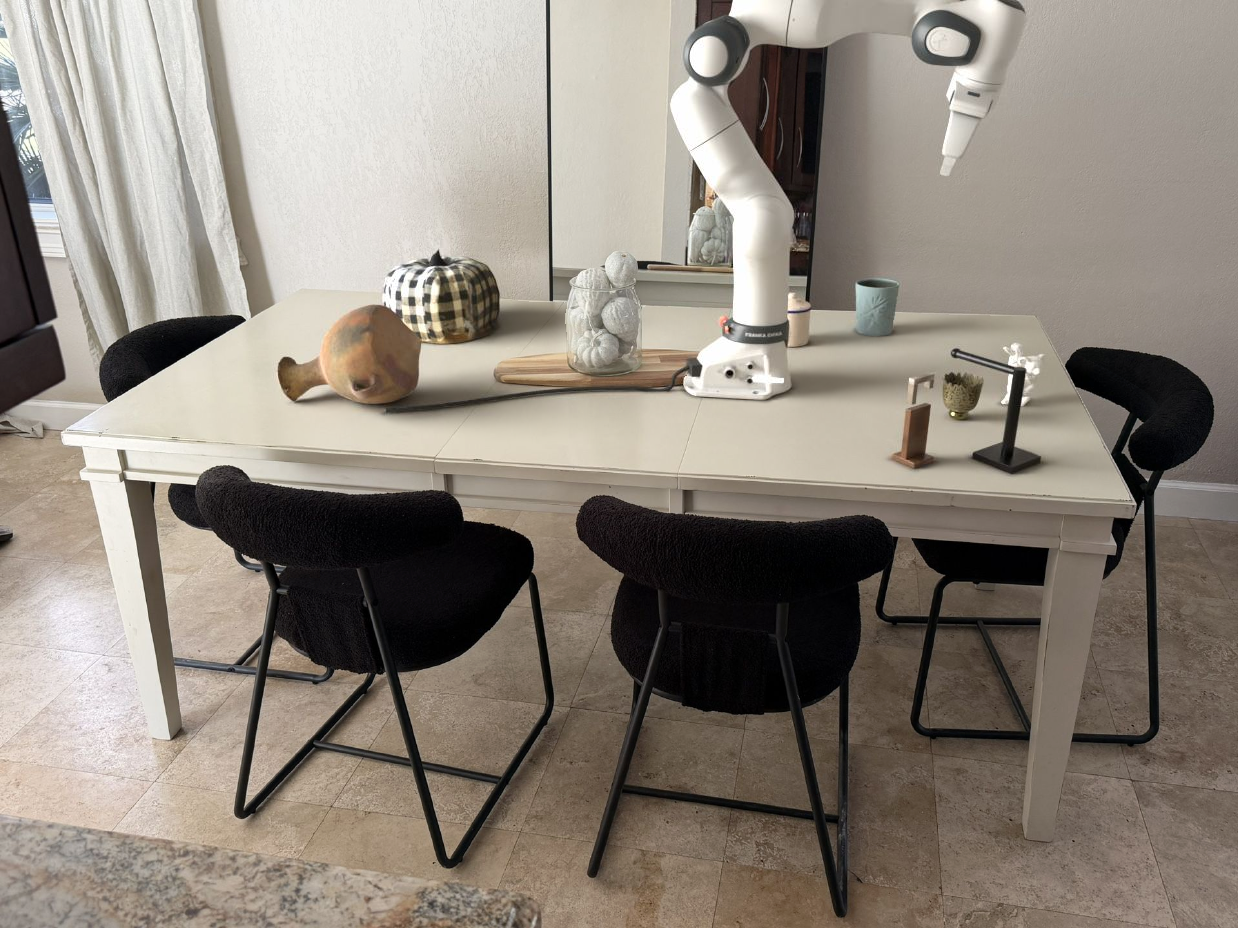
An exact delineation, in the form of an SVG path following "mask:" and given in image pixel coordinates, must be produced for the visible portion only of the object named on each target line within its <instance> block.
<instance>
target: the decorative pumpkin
mask: <svg viewBox="0 0 1238 928" xmlns="http://www.w3.org/2000/svg"><path fill="white" fill-rule="evenodd" d="M500 298H501V293H500V290H499V286H498V283H497V280H496V277H495V275H494V273H493V271H492V270H491V269H490V267H489V266H488V265H487V264H485V263H483V262H481V261H478V260H476V259H474V258H471V257H468V256H457V257H456V256H455V257H451V256H446V255H441V252H440V248H438V249H437V250H436V251H435V253H433V254H432V255H431V257H427V258H417V259H412V260H410V261H407V262H406V263H402V264H400V265H396V266H394V267H393V268H392V269H391V270H390V271H389V272H388V274H387V276H386V277H385V280H384V284H383V286H382V299H381V303H382V306H386V307H388V308H390V309H391V310H392V311H394V312H395V313H396V314H397V315H398V316H399V318H400V319H401V320H402V322H403V323H404V324H405V325H407V326H408V327H409V328H410V329H411V330H412V331H413V332H415V333H416V334H417V335H418V336H419V338H420V340H421V343H427V344H428V343H429V344H443V345H447V344H459V343H465V342H468V341H472V340H477V339H480V338H483V337H486V336H488V335H491V333H493V332H494V331H495V330H496V329H497V321H498V318H499V315H500V311H501V304H500V303H501V301H500V300H501V299H500Z"/></svg>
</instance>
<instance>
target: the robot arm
mask: <svg viewBox="0 0 1238 928" xmlns="http://www.w3.org/2000/svg"><path fill="white" fill-rule="evenodd" d="M1026 20H1027V14H1026V10H1025V7H1024V6H1023V4H1022V3H1021V2H1020V1H1019V0H732V3H731V8H730V12H729V14H724V15H722V16H719V17H717V18H715V19H712V20H709V21H706V22H705V23H703V24H702V25H699V26H698V27H696V28H695V29H694V30H693V31H692V32H691V33H690V34H689V36H688V37H687V39H686V41H685V44H684V46H683V51H682V61H683V65H684V68H685V70H686V72H687V74H688V75H689V78H688V79H687V81H685V82H684V83H682V84H681V85H680V86H679V87H677V89H676V90H675V92H674V93H673V95H672V97H671V100H670V110H671V114H672V116H673V120H674V123H675V125H676V127H677V129H678V132H679V134H680V136H681V138H682V140H683V142H684V144H685V146H686V148H687V150H688V152H689V154H690V155H691V157H692V159H693V161H694V162H695V164H696V165H697V167H698V169H699V171H700V172H701V174H702V176H703V178H704V180H705V181H706V183H707V185H708V186H709V188H710V189H711V190H712V191H713V192H714V193H715V194H716V196H717V197H718V198H719V199H720V201H721V202H722V203H723V205H724V206H725V207H726V209H727V210H728V212H729V213H730V214H731V216H732V217H733V219H734V220H733V223H732V264H733V265H732V268H733V298H732V299H733V302H732V317H730V318H728V317H727V316H726V315H722V316H720V317H719V318H718V319H719V320H718V323H719V326H720V327H721V328H722V329H721V330H722V332H721V333H722V335H721V336H720V337H719V338H717V339H715V341H713V342H712V343H710V344H708V345H707V346H706V347H704V348H703V349H701V350H700V351H699V353H698V354H697V356H696V357H690V358H686V360H685V362H686V363H685V366H683V367H681V368H680V369H678V370H676V371H675V372H674V373H673V374H672V376H671V379H670V384H669V385H668V386H666V387H663V388H653V387H647V386H641V385H595V386H591V385H590V386H574V387H573V386H572V387H560V388H559V387H558V388H549V389H539V390H531V391H521V392H514V393H506V394H500V395H491V396H486V397H479V398H471V399H464V400H455V401H450V402H441V403H431V404H423V405H412V406H411V405H410V406H396V407H385V413H395V412H397V413H398V412H413V411H423V410H433V409H441V408H450V407H456V406H463V405H464V406H466V405H472V404H479V403H485V402H486V403H487V402H492V401H493V402H494V401H500V400H507V399H514V398H521V397H529V396H537V395H539V396H540V395H548V394H559V393H572V392H587V391H588V392H589V391H590V392H592V391H643V392H652V393H653V392H656V393H657V392H669V391H671V390H672V389H673V388H674V386H675V384H676V379H677V378H678V376H680V375H681V374H683V373H684V372H687V373H689V374H687V373H685V375H687V376H685V375H684V376H685V377H683V382H682V383H683V388H684V390H685V391H686V392H687V393H688V394H689V395H692V396H694V397H705V398H722V399H723V398H724V399H739V400H740V399H741V400H742V399H743V400H760V401H761V400H762V401H765V400H768V399H770V398H771V397H773V396H775V395H779V394H782V393H786V392H787V391H789V390H790V389H791V388H792V386H793V384H792V381H791V376H790V370H789V363H788V347H787V346H788V342H789V328H790V325H789V320H788V318H787V314H788V297H789V293H790V259H791V258H790V256H791V254H790V253H791V236H792V230H793V227H794V223H795V211H794V208H793V205H792V203H791V202H790V200H789V198H788V196H787V195H786V193H785V192H784V190H783V188H782V186H781V185H780V184H779V182H778V180H777V179H776V178H775V176H774V174H773V173H772V172H771V170H770V168H769V167H768V166H767V164H766V163H765V162H764V160H763V159H762V157H761V156H760V154H759V153H758V150H757V149H756V147H755V145H754V143H753V142H752V140H751V138H750V136H749V135H748V133H747V131H746V129H745V128H744V126H743V124H742V122H741V120H740V118H739V117H738V115H737V113H736V112H735V110H734V108H733V106H732V104H731V102H730V99H729V95H728V89H729V88H730V87H731V86H732V85H733V84H734V82H735V81H736V80H737V79H738V78H739V76H740V75H741V74H742V73H743V72H744V70H745V69H746V68H747V66H748V64H749V63H750V60H751V57H752V49H753V48H755V47H756V46H759V45H774V46H775V45H776V46H782V47H789V48H796V49H819V48H825V47H828V46H830V45H833V44H834V43H836V42H838V41H840V40H841V39H844V38H846V37H848V36H851V35H855V34H862V33H869V34H880V35H888V36H889V35H891V36H901V37H908V38H910V39H911V47H912V50H913V52H914V54H915V56H916V57H917V58H918V59H919V60H920V61H921V62H922V63H925V64H927V65H931V66H940V67H955V68H954V72H953V74H952V77H951V80H950V83H949V86H948V87H947V92H946V94H945V96H946V98H947V100H948V103H949V110H950V113H949V119H948V124H947V128H946V131H945V136H944V141H943V145H942V151H941V154H942V156H944V158H943V161H942V165H941V168H940V171H939V174H940V175H941V176H944V177H950V175H951V173H952V170H953V167H954V165H955V164H956V161H957V160H962V159H963V157H964V156H965V154H966V152H967V150H968V148H969V146H970V144H971V142H972V140H973V137H974V136H975V134H976V132H977V130H978V127H979V126H980V124H981V122H982V120H983V119H986V117H987V116H988V114H989V113H990V112H991V111H992V110H994V109H995V108H996V105H997V104H998V100H999V98H1000V95H1001V93H1002V90H1003V88H1004V85H1005V83H1006V79H1007V70H1008V68H1009V66H1010V63H1011V62H1012V61H1013V59H1014V58H1015V56H1016V54H1017V50H1018V48H1019V45H1020V42H1021V39H1022V36H1023V32H1024V30H1025V26H1026Z"/></svg>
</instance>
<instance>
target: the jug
mask: <svg viewBox="0 0 1238 928" xmlns="http://www.w3.org/2000/svg"><path fill="white" fill-rule="evenodd" d="M421 349H422V342H421V340H420V338H419V336H418V335H417V334H416V333H415V332H413V331H412V330H411V329H410V328H409V327H408V326H407V325H405V324H404V323H403V322H402V320H401V319H400V318H399V316H398V315H397V314H396V313H395V312H394V311H392V310H391V309H390V308H388V307H386V306H383V304H368V305H364V306H360V307H359V308H356V309H353V310H351V311H349V312H348V313H346V314H344V315H343V316H342V317H340V318H339V319H338V320H337V321H336V322H334V323H333V324H332V325H331V326H330V328H329V329H328V331H327V332H326V333H325V336H324V337H323V339H322V341H321V345H320V349H319V350H320V351H319V355H318V356H317V357H316V358H314V359H313V360H310V361H308V362H304V363H300V364H299V363H297V361H296V360H295V359H294V358H292V357H290V356H282V357H281V358H280V359H279V361H278V362H277V368H276V369H277V370H276V378H277V381H278V384H279V387H280V389H281V390H282V392H283V394H284V396H286V397H287V398H288V399H289V400H290V401H291V402H294V403H295V402H297V400H298V399H299V398H300V397H302V396H303V395H305V393H307V392H309V390H311V389H312V388H315V387H319V386H329V387H330V388H331V389H332V390H333V391H334V392H335V393H336V394H338V395H339V396H341V397H343V398H345V399H347V400H349V401H352V402H357V403H360V404H369V405H370V404H371V405H379V404H388V403H391V402H395V401H399V400H400V399H402V398H406V397H408V396H409V395H410V394H411V393H413V392H414V391H415V389H417V387H418V383H419V378H420V357H421V356H420V354H421Z"/></svg>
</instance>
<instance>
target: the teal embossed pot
mask: <svg viewBox="0 0 1238 928" xmlns="http://www.w3.org/2000/svg"><path fill="white" fill-rule="evenodd" d="M899 288H900V282H899V281H897V280H894V279H890V278H883V277H869V278H868V277H867V278H861V279H858V280H856V282H855V299H856V300H855V311H856V312H855V319H856V322H855V323H856V324H855V325H856V326H855V329H856V332H857V333H858V334H861V335H864V336H868V337H884V336H890V335H891V334H892V333H893V329H894V320H895V315H896V308H897V301H898V299H897V298H898V295H899V290H900V289H899Z"/></svg>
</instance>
